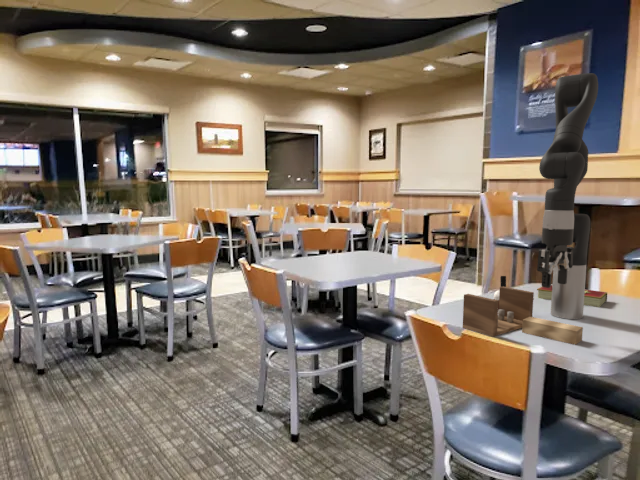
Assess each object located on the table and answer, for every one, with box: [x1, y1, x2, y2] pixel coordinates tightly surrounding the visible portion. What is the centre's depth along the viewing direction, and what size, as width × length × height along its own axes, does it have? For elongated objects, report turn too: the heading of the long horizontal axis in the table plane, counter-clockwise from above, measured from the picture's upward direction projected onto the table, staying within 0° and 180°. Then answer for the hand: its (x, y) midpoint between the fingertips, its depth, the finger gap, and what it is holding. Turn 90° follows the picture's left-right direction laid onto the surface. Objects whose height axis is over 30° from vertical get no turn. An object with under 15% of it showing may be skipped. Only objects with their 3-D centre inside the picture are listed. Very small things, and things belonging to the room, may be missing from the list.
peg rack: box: [462, 286, 535, 338], centre depth 133 cm, size 20×10×10 cm, turn 125°
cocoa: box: [493, 275, 507, 310], centre depth 151 cm, size 10×6×12 cm, turn 139°
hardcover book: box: [536, 284, 608, 308], centre depth 167 cm, size 12×21×4 cm, turn 48°
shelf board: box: [521, 316, 584, 346], centre depth 124 cm, size 14×5×4 cm, turn 42°
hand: (554, 285), depth 122 cm, fingers open, 8 cm apart
